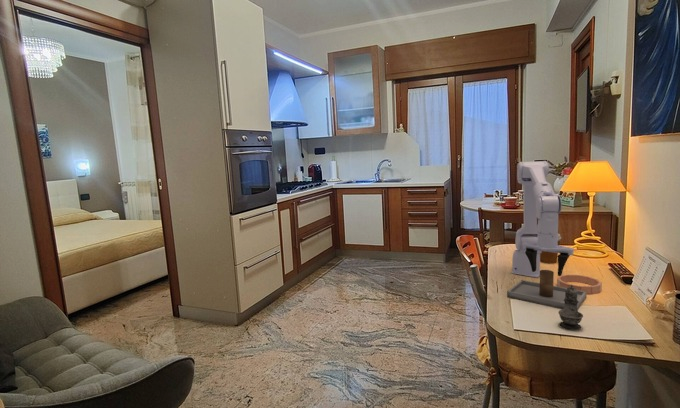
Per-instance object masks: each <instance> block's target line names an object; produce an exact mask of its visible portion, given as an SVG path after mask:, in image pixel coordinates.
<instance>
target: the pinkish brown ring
mask: <svg viewBox="0 0 680 408" xmlns="http://www.w3.org/2000/svg"><path fill="white" fill-rule="evenodd" d="M570 283H581V284H586V285H577V284H572V286H573V288H575V289H576V290H579V291H585V292H586V295H595V294H599V293H601V291H602V288H603V287H602V284H603V283H602V281H600V280H599V279H598V278H595V277H593V276H588V275H583V274H582V275H581V274H562V275H561V276H557V278H556V286H557V287H563V288H568V287H571V284H570ZM587 284H588V285H587Z"/></svg>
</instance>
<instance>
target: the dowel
mask: <svg viewBox="0 0 680 408" xmlns="http://www.w3.org/2000/svg"><path fill="white" fill-rule="evenodd" d="M554 274H555V272H554V271H553V270H550V269H540V276H539V283H540V286H539V295H540V296H543V297H553V286H554V279H555V278H554V276H555V275H554Z"/></svg>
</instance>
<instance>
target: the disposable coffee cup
mask: <svg viewBox="0 0 680 408" xmlns="http://www.w3.org/2000/svg"><path fill="white" fill-rule="evenodd" d="M536 235H538V234H536ZM561 240H562V236H561V234H560V233H558V245H559V246H560V243H561ZM558 255H559V253H553V252H546V251H542V253H540V263H544V264H555V263H558V257H557V256H558Z"/></svg>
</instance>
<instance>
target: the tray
mask: <svg viewBox="0 0 680 408" xmlns="http://www.w3.org/2000/svg"><path fill="white" fill-rule="evenodd" d="M539 286H540V282H534V281H530V280H524V279H522V280H521V279H520V281H519V282H517V283H516V284H514V285H513V286H512V287H511V288H510V289H508V290H507V292H506V296H507V298H511V299H515V300H519V301H525V302H528V303H532V304H538V305H541V306H546V307H551V308H556V309H560V310H564V307H565V301H564V299H565V290H566V288H563V287H558V286H557V285H553V297H543V296H540V295H539ZM586 299H587V294H586V292H585V291H579V290H577V300H578V301H579V303H577V310H578V311H579V308H580V307H581V305H582V304H583V303H584V301H585V300H586Z"/></svg>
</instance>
